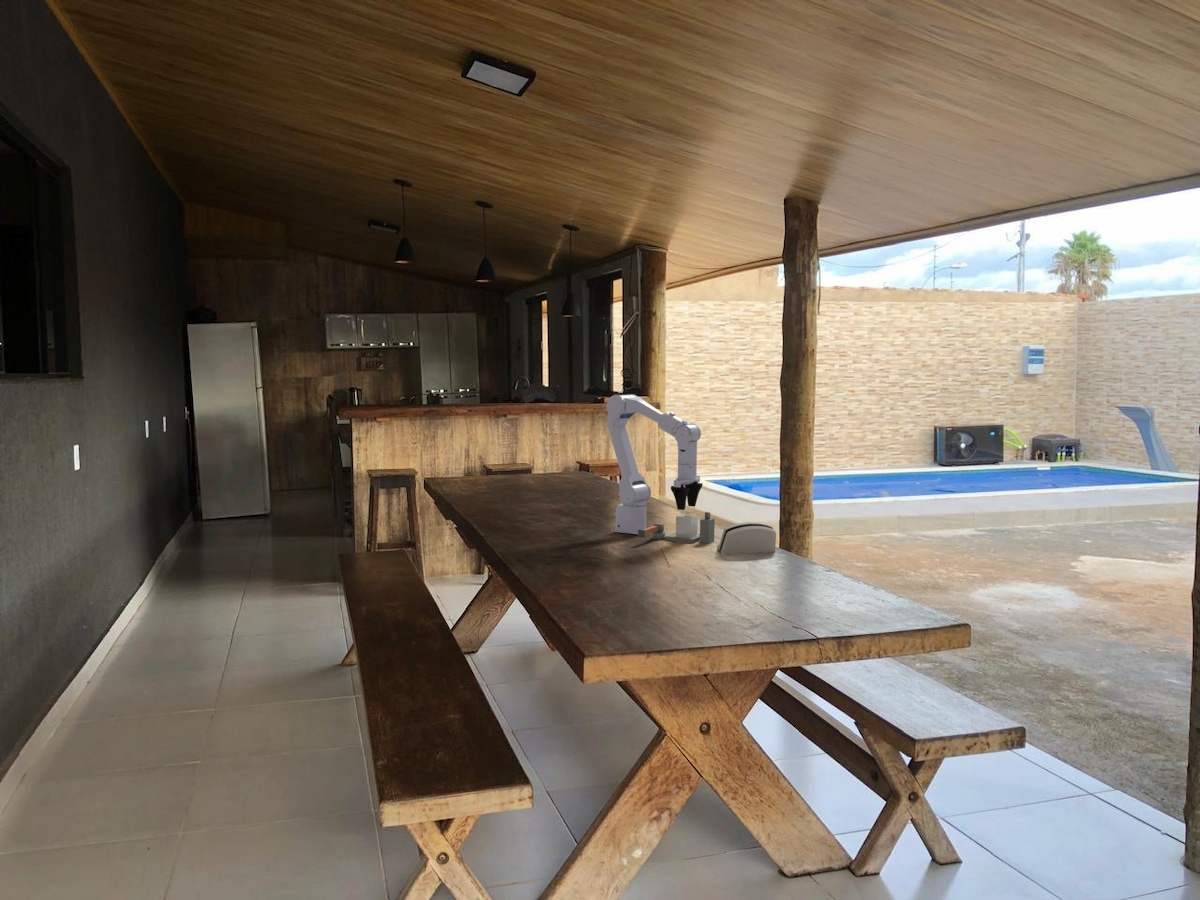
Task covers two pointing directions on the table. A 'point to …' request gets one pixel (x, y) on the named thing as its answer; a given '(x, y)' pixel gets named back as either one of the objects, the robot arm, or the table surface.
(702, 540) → the press
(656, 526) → the lever
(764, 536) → the white arched thin slab
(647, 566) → the table surface
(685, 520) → the block
